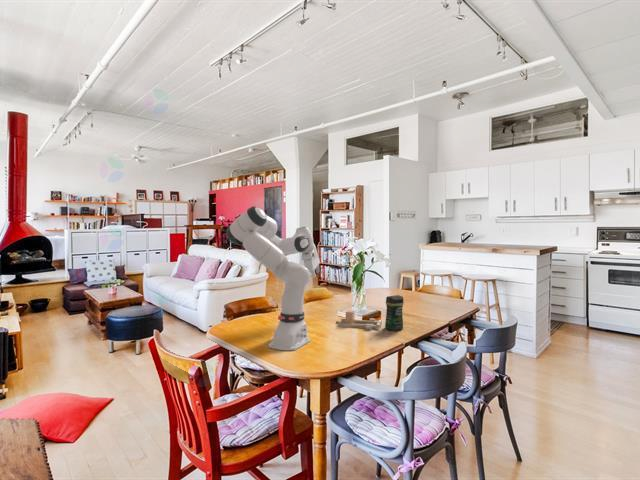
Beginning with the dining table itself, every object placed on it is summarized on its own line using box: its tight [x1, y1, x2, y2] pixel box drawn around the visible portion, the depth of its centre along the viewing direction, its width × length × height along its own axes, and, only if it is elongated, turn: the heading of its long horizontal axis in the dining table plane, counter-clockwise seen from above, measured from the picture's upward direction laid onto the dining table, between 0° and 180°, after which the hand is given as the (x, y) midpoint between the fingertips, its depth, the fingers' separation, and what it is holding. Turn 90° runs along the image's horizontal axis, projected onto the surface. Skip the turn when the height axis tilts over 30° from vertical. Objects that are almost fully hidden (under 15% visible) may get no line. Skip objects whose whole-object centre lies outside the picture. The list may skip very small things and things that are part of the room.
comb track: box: [337, 317, 383, 331], centre depth 204 cm, size 14×24×3 cm, turn 72°
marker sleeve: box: [345, 309, 355, 323], centre depth 206 cm, size 5×4×8 cm
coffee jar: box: [384, 294, 405, 332], centre depth 199 cm, size 10×8×19 cm
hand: (316, 274), depth 214 cm, fingers open, 8 cm apart
